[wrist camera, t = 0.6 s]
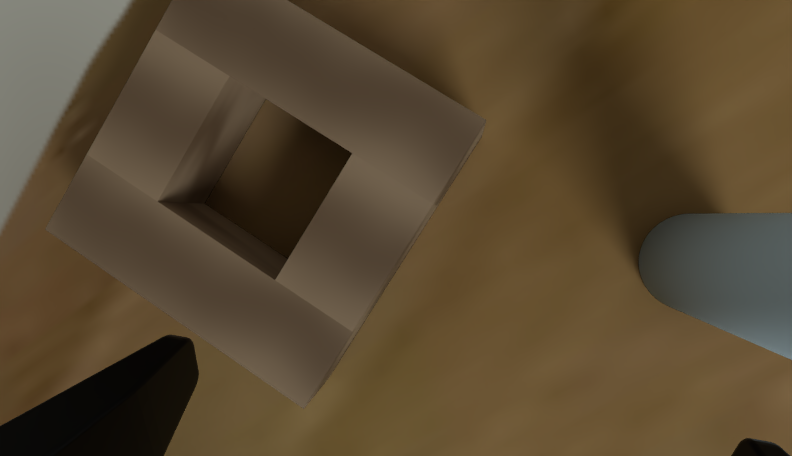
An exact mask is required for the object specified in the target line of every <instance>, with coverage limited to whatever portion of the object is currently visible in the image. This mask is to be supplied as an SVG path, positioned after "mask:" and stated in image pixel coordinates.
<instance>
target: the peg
mask: <svg viewBox="0 0 792 456" xmlns="http://www.w3.org/2000/svg"><path fill="white" fill-rule="evenodd" d="M639 271H640V275H641V278H642V280H643V283H644V285H645V286H646V288H647V289H648V291H649V292H650V293H651V294H652V295H653V296H654V297H655V298H656V299H657V300H659V301H660V302H662V303H663V304H665V305H667V306H669V307H672V308H674V309H676V310H678V311H681V312H683V313H685V314H688V315H690V316H692V317H695V318H697V319H699V320H701V321H704V322H706V323H708V324H711V325H713V326H715V327H718V328H720V329H722V330H724V331H727V332H729V333H731V334H734V335H736V336H738V337H740V338H743V339H745V340H747V341H750V342H752V343H754V344H757V345H759V346H761V347H763V348H766V349H768V350H770V351H773V352H775V353H777V354H780V355H782V356H784V357H786V358H789V359H791V360H792V213H713V214H681V215H677V216H673V217H670V218H668V219H666V220H664V221H662V222H661V223H659V224H658V225H657V226H655V227H654V228H653V229H652V230H651V231H650V233H649V234H648V235H647V237H646V238H645V240H644V242H643V244H642V246H641V250H640V253H639Z"/></svg>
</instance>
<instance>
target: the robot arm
mask: <svg viewBox="0 0 792 456" xmlns="http://www.w3.org/2000/svg"><path fill="white" fill-rule="evenodd" d="M198 375H199V371H198V365H197V360H196V355H195V349H194V344H193V342H192V340H191V339H189V338H187V337H181V336H175V335H167V336H164V337H162V338H160V339H158V340H156V341H155V342H153V343H151V344H149V345H147V346H145V347H144V348H142V349H140V350H138V351H136V352H135V353H133V354H131V355H129V356H127V357H125V358H124V359H122V360H120V361H118V362H116V363H114V364H113V365H111V366H109V367H107V368H105V369H103V370H102V371H100V372H98V373H96V374H94V375H93V376H91V377H89V378H87V379H85V380H83V381H82V382H80V383H78V384H76V385H74V386H72V387H71V388H69V389H67V390H65V391H63V392H62V393H60V394H58V395H56V396H54V397H52V398H51V399H49V400H47V401H45V402H43V403H41V404H40V405H38V406H36V407H34V408H32V409H31V410H29V411H27V412H25V413H23V414H21V415H20V416H18V417H16V418H14V419H12V420H10V421H9V422H7V423H5V424H3V425H1V426H0V456H164V454H165V452H166V450H167V447H168V445H169V443H170V441H171V439H172V437H173V434H174V432H175V430H176V428H177V426H178V424H179V421H180V419H181V417H182V415H183V413H184V411H185V408H186V406H187V404H188V402H189V400H190V398H191V395H192V393H193V391H194V389H195V387H196V384H197V381H198ZM732 456H790V455H789V454H788V453H786V452H785V451H784V450H783V449H782V448H781V447H779V446H778V445H776V444H774V443H772V442H767V441H762V440H756V439H751V438H746V439H744V440H742V441H741V442H740V443H739V444H738V446H737V448H736V449H735V451H734V452H733V454H732Z"/></svg>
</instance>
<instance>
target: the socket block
mask: <svg viewBox="0 0 792 456" xmlns="http://www.w3.org/2000/svg"><path fill="white" fill-rule="evenodd" d="M265 99H267V100H268V101H270V102H271V103H273V104H275V105H276V106H278V107H279V108H281V109H283V110H284V111H286V112H287V113H289V114H291V115H292V116H294V117H295V118H297V119H299V120H300V121H302V122H303V123H305V124H306V125H308V126H310V127H311V128H313V129H314V130H316V131H318V132H319V133H321V134H322V135H324V136H326V137H327V138H329V139H330V140H332V141H334V142H335V143H337V144H338V145H340V146H342V147H343V148H345V149H346V150H348V151H349V152H351V153H352V155H351V156H350V158H349V160H348V161H347V163H346V164H345V166H344V168H343V169H342V171H341V173H340V174H339V176H338V178H337V179H336V181H335V183H334V184H333V186H332V187H331V189H330V191H329V192H328V194H327V196H326V197H325V199H324V201H323V202H322V204H321V206H320V207H319V209H318V210H317V212H316V214H315V215H314V217H313V219H312V220H311V222H310V224H309V225H308V227H307V229H306V230H305V232H304V233H303V235H302V237H301V238H300V240H299V242H298V243H297V245H296V247H295V248H294V250H293V252H292V253H291V255H290V256H289V258H288V259H287V258H286V257H284V256H283V255H281V254H280V253H278V252H277V251H275V250H274V249H272V248H271V247H269V246H268V245H266V244H265V243H263V242H262V241H260V240H259V239H257V238H256V237H254V236H252V235H251V234H249V233H248V232H246V231H245V230H243V229H242V228H240V227H239V226H237V225H236V224H234V223H233V222H231V221H230V220H228V219H227V218H225V217H224V216H222V215H221V214H219V213H218V212H216V211H215V210H213V209H212V208H210V207H209V206H207V205H206V204H205V202H206V200H207V198H208V197H209V195H210V193H211V192H212V190H213V188H214V186H215V185H216V183H217V181H218V180H219V178H220V176H221V174H222V173H223V171H224V169H225V168H226V166H227V164H228V162H229V161H230V159H231V157H232V156H233V154H234V152H235V150H236V149H237V147H238V145H239V144H240V142H241V140H242V139H243V137H244V135H245V133H246V132H247V130H248V128H249V127H250V125H251V123H252V121H253V120H254V118H255V116H256V115H257V113H258V111H259V109H260V108H261V106H262V104H263V103H264V101H265ZM485 123H486V120H485V119H484V118H482V117H480V116H479V115H477V114H475V113H474V112H472V111H470V110H469V109H467V108H465V107H464V106H462V105H460V104H459V103H457V102H455V101H454V100H452V99H450V98H449V97H447V96H445V95H444V94H442V93H441V92H439V91H437V90H436V89H434V88H432V87H431V86H429V85H427V84H426V83H424V82H422V81H421V80H419V79H417V78H416V77H414V76H412V75H411V74H409V73H407V72H406V71H404V70H402V69H401V68H399V67H397V66H396V65H394V64H392V63H391V62H389V61H387V60H386V59H384V58H382V57H381V56H379V55H377V54H376V53H374V52H373V51H371V50H369V49H368V48H366V47H364V46H363V45H361V44H359V43H358V42H356V41H354V40H353V39H351V38H349V37H348V36H346V35H344V34H343V33H341V32H339V31H338V30H336V29H334V28H333V27H331V26H329V25H328V24H326V23H324V22H323V21H321V20H319V19H318V18H316V17H314V16H313V15H311V14H309V13H308V12H306V11H304V10H303V9H301V8H300V7H298V6H296V5H295V4H293V3H291V2H290V1H288V0H172V1H171V3H170V5H169V6H168V8H167V10H166V12H165V14H164V15H163V17H162V19H161V21H160V23H159V24H158V26H157V28H156V30H155V32H154V34H153V35H152V37H151V39H150V41H149V43H148V44H147V46H146V48H145V50H144V52H143V53H142V55H141V57H140V59H139V61H138V62H137V64H136V66H135V68H134V70H133V71H132V73H131V75H130V77H129V79H128V80H127V82H126V84H125V86H124V88H123V89H122V91H121V93H120V95H119V97H118V99H117V100H116V102H115V104H114V106H113V108H112V109H111V111H110V113H109V115H108V117H107V118H106V120H105V122H104V124H103V126H102V127H101V129H100V131H99V133H98V135H97V136H96V138H95V140H94V142H93V144H92V145H91V147H90V149H89V151H88V153H87V155H86V156H85V158H84V160H83V162H82V164H81V165H80V167H79V169H78V171H77V173H76V174H75V176H74V178H73V180H72V182H71V183H70V185H69V187H68V189H67V191H66V192H65V194H64V196H63V198H62V200H61V201H60V203H59V205H58V207H57V209H56V210H55V212H54V214H53V216H52V218H51V220H50V221H49V223H48V225H47V227H46V229H45V230H47V231H48V232H50V233H51V234H52V235H54V236H55V237H57V238H58V239H60V240H61V241H63V242H64V243H65V244H67V245H68V246H70V247H71V248H73V249H74V250H75V251H77V252H78V253H80V254H81V255H83V256H84V257H86V258H87V259H88V260H90V261H91V262H93V263H94V264H96V265H97V266H99V267H100V268H101V269H103V270H104V271H106V272H107V273H109V274H110V275H112V276H113V277H114V278H116V279H117V280H119V281H120V282H122V283H123V284H125V285H126V286H127V287H129V288H130V289H132V290H133V291H135V292H136V293H137V294H139V295H140V296H142V297H143V298H145V299H146V300H148V301H149V302H150V303H152V304H153V305H155V306H156V307H158V308H159V309H161V310H162V311H163V312H165V313H166V314H168V315H169V316H171V317H172V318H174V319H175V320H176V321H178V322H179V323H181V324H182V325H184V326H185V327H187V328H188V329H189V330H191V331H192V332H194V333H195V334H197V335H198V336H199V337H201V338H202V339H204V340H205V341H207V342H208V343H210V344H211V345H212V346H214V347H215V348H217V349H218V350H220V351H221V352H223V353H224V354H225V355H227V356H228V357H230V358H231V359H233V360H234V361H236V362H237V363H238V364H240V365H241V366H243V367H244V368H246V369H247V370H249V371H250V372H251V373H253V374H254V375H256V376H257V377H259V378H260V379H262V380H263V381H264V382H266V383H267V384H269V385H270V386H272V387H273V388H274V389H276V390H277V391H279V392H280V393H282V394H283V395H285V396H286V397H287V398H289V399H290V400H292V401H293V402H295V403H296V404H298V405H299V406H300V407H302V408H303V409H304V408H305V407H306V406H307V404H308V403H309V402H310V401H311V399H312V398H313V397H314V396H315V394H316V393H317V392H318V391H319V389H320V388H321V387H322V386H323V385H324V383H325V382H326V381H327V380H328V378H329V377H330V375H331V374H332V372H333V371H334V369H335V367H336V366H337V364H338V363H339V361H340V359H341V358H342V356H343V355H344V353H345V352H346V350H347V348H348V347H349V345H350V344H351V342H352V340H353V339H354V337H355V336H356V334H357V333H358V331H359V329H360V328H361V326H362V325H363V323H364V322H365V320H366V318H367V317H368V315H369V314H370V312H371V310H372V309H373V307H374V306H375V304H376V303H377V301H378V299H379V298H380V296H381V295H382V293H383V292H384V290H385V288H386V287H387V285H388V284H389V282H390V280H391V279H392V277H393V276H394V274H395V273H396V271H397V269H398V268H399V266H400V265H401V263H402V261H403V260H404V258H405V257H406V255H407V254H408V252H409V250H410V249H411V247H412V246H413V244H414V243H415V241H416V239H417V238H418V236H419V235H420V233H421V231H422V230H423V228H424V227H425V225H426V224H427V222H428V220H429V219H430V217H431V216H432V214H433V213H434V211H435V209H436V208H437V206H438V205H439V203H440V201H441V200H442V198H443V197H444V195H445V194H446V192H447V190H448V189H449V187H450V186H451V184H452V183H453V181H454V179H455V178H456V176H457V175H458V173H459V171H460V170H461V168H462V167H463V165H464V164H465V162H466V160H467V159H468V157H469V156H470V154H471V152H472V151H473V149H474V148H475V146H476V145H477V143H478V141H479V140H480V138H481V137H482V134H483V130H484V127H485Z"/></svg>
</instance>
